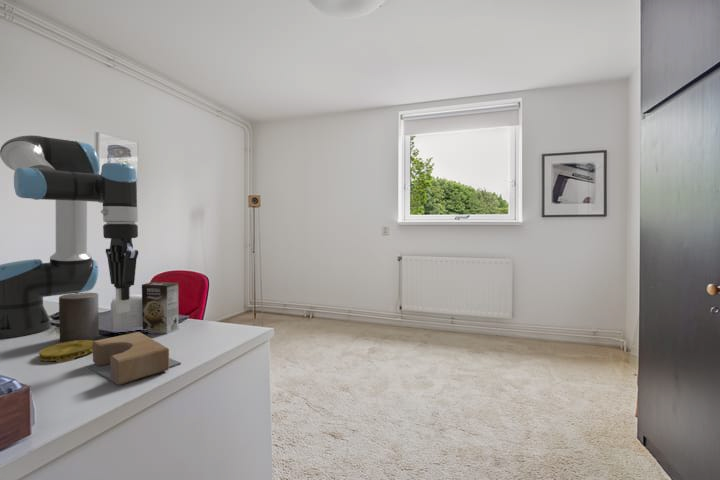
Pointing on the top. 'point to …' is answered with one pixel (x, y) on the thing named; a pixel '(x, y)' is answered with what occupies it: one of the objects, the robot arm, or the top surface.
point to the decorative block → (131, 356)
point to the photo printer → (127, 314)
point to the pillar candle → (78, 317)
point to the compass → (66, 350)
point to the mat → (106, 369)
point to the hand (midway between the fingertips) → (123, 311)
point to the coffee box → (160, 307)
